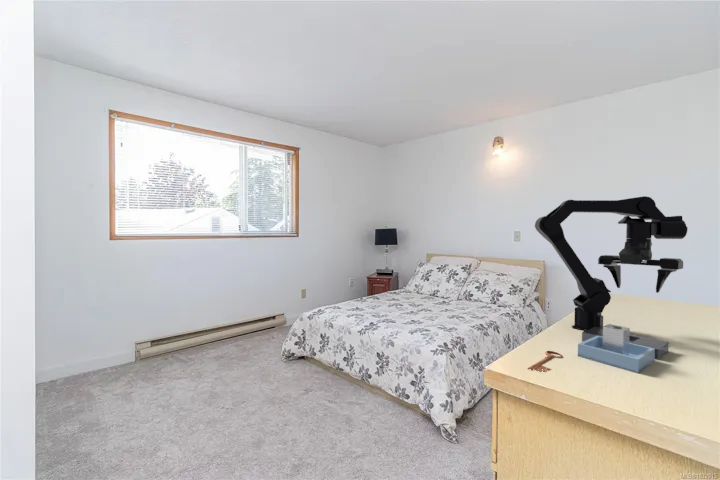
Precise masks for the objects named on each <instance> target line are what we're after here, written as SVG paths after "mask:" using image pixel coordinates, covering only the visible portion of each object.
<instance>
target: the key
mask: <svg viewBox="0 0 720 480" xmlns="http://www.w3.org/2000/svg"><path fill="white" fill-rule="evenodd" d="M545 355H547V356H545V357H544V358H542V359H540V360H539V361H538V362H535V363H534V364H533V365H531V366H529V367H527V370H529V369H531V370H530V371H535V370H536V371H535V372H538V371H539V372H538V373H541V372H542V371H543V372H545V373H547V372H549V371H552V370H553V369H552V368H549V367H547V366H544V365H543V364H544V363H547V362H548V361H550V360H551V359H552V358H554V359H555V358H556V359H563V358H564V355H563V354H561V353H558V352H557V351H552V350H546V351H545ZM557 355H558V356H557ZM539 366H540V367H539ZM535 368H536V369H535ZM532 369H534V370H532ZM542 369H543V370H542Z"/></svg>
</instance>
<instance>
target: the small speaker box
mask: <svg viewBox="0 0 720 480" xmlns="http://www.w3.org/2000/svg"><path fill="white" fill-rule="evenodd" d="M630 331H631V328H630V327H626V326H621V325H616V324H611V323H608V324H606V325H603V349H604V350H608V351H611V352H615V353H619V354H623V355H627V356H629V334H631V333H630Z"/></svg>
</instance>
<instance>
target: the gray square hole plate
mask: <svg viewBox="0 0 720 480" xmlns="http://www.w3.org/2000/svg"><path fill="white" fill-rule="evenodd" d="M595 336H602V337H603V328H598V327H594V328H591V329H589V330H583V331H582V333H581V342H584V341H586V340H588V339H590V338H593V337H595ZM629 343H632V344H637V345H641V346H646V347H650V348H654V349H655V360H657V361H658V360H659V359H661V358H663V357H664V356H666V354H668V353H669V348H670V347H669V346H670V345H669V341H664V340H660V339H655V338H651V337H646V336H642V335H641V336H640V335H636V334H632V333H629Z"/></svg>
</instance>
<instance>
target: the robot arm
mask: <svg viewBox="0 0 720 480" xmlns="http://www.w3.org/2000/svg"><path fill="white" fill-rule="evenodd" d="M656 205H657V204H656V202H655V200H654V199H653V198H652V197H649V196H638V197H637V196H636V197H630V198H624V199H618V200H617V199H616V200H610V199H609V200H603V199H602V200H600V199H598V200H591V199H590V200H584V199H583V200H579V199H578V200H577V199H576V200H575V199H568V200H565V201H562V203H561V204H559V205H558V206H557V207H556V208H555V209H553V210H552V211H550V212H549V213H548V214H547V215H544V216H541V217H539V218H537V220H536V221H535V224H534V228H535V231H537V232H538V234H540V235H541V236H542V237H543V238H544V239H545V240H546V241H547V242H548V243H550V245H552V247H553V248H554V250H555V251H556V253H557V254H558V255H559V256H558V257H560V259H561V261H563V263H564V265H565V266H566V268H567V269H568V271H569V272H570V274H571V275H572V276H573V278H574V279H575V280H576V284H577V288H578V291H579V293H580V294H579V295H577V296H576V297H574V298H573V299H572V301H573V304H574V306H575V307H574V325H571V328H572V329H577V330H582V331H586V330H589V329H591V328H594V327H598V328H603V326H604V315H602V313H603V311H604V309H605V307H606V306H608V305H609V303H610V301H611V299H612V296H611V294H610V293H611V290H610V289H608V288H607V286H606V283H605V282H604V280H603V279H601V278H597V277H593V276H592V275H591V274H590V273H589V271H588V270H587V269H586V267H585V265H584V264H583V263H582V261H581V259H580V258H579V257H578V255H577V254H576V252H575V251H574V249H573V247H571V245H570V244H569V242H568V241H567V239H566V237H565V234H564V230H563V228H562V225H561V224H562V223H563V222H564V221H565V220H567V218H568V217H569V216H570V215H572V213H599V214H600V213H602V214H604V213H607V214H608V213H609V214H617V215H619V216H624V217H623V218H621V220H619V221H618V222H617V224H618V225H626V234H625V242H624V247H623V248H622V249H621V250H620V251H619V252H618V255H612V254H610V255H609V254H604V255H600V256H599V257H598V259H597V262H598V263H597V264H598V265H603V268H607V270H608V271H609V272H610V273H611V275H612V278H613V281H614V283H615V286H616V287H617V288H618V289H620V288H621V283H622V279H621V274H622V273H621V272H622V270H621V265H637V266H638V265H639V266H652V267H653V266H655V267H660V268H659V269H657V270H656V271H657V277H656V278H657V279H656V285H655V293H657V294H658V293H660V291H661V289H662V288H663V285H664V284H665V282H666V280H667V278H668V277H669V276H670V275H671V274H672V273H675V272H677V271H678V270H682V269H684V261H683V259H681V258H673V257H672V258H671V257H670V258H669V257H664V258H663V257H662V258H661V257H660V258H659V259H652V257H653V252H652V246H653V243H652V236H653V237H654V238H655V239H656V240H657V239H658V240H682V239H684V238H685V237H686V235H688V227H687V224H686V221H684V219H683V216H682V215H672V216H665V214H664V213H663V212H662V211H661V210H660V209H659V208H658V206H656ZM648 220H649V221H648ZM650 220H651V221H650ZM619 264H620V265H619Z"/></svg>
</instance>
